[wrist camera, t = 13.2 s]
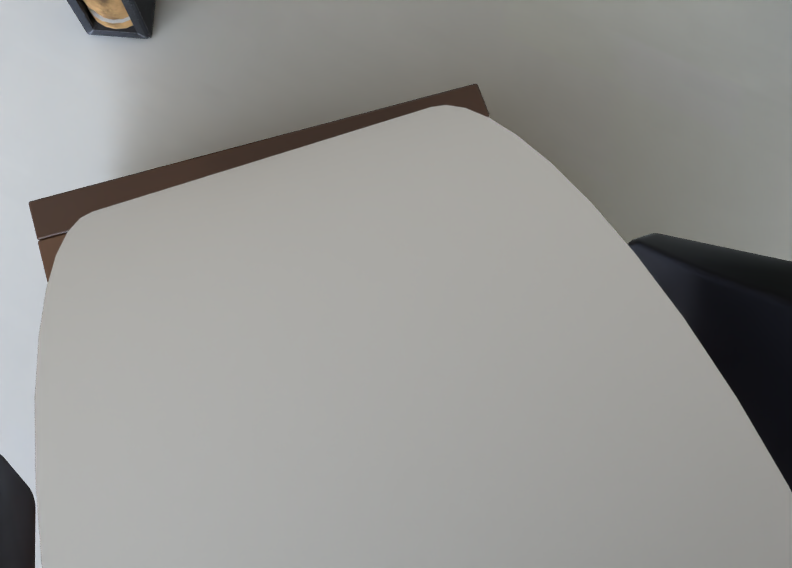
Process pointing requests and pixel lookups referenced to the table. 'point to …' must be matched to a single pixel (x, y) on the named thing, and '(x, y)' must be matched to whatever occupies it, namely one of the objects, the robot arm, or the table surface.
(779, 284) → the robot arm
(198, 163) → the divided wooden tray
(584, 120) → the table surface
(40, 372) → the headphone stand
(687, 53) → the table surface
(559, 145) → the table surface
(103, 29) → the ammunition clip
